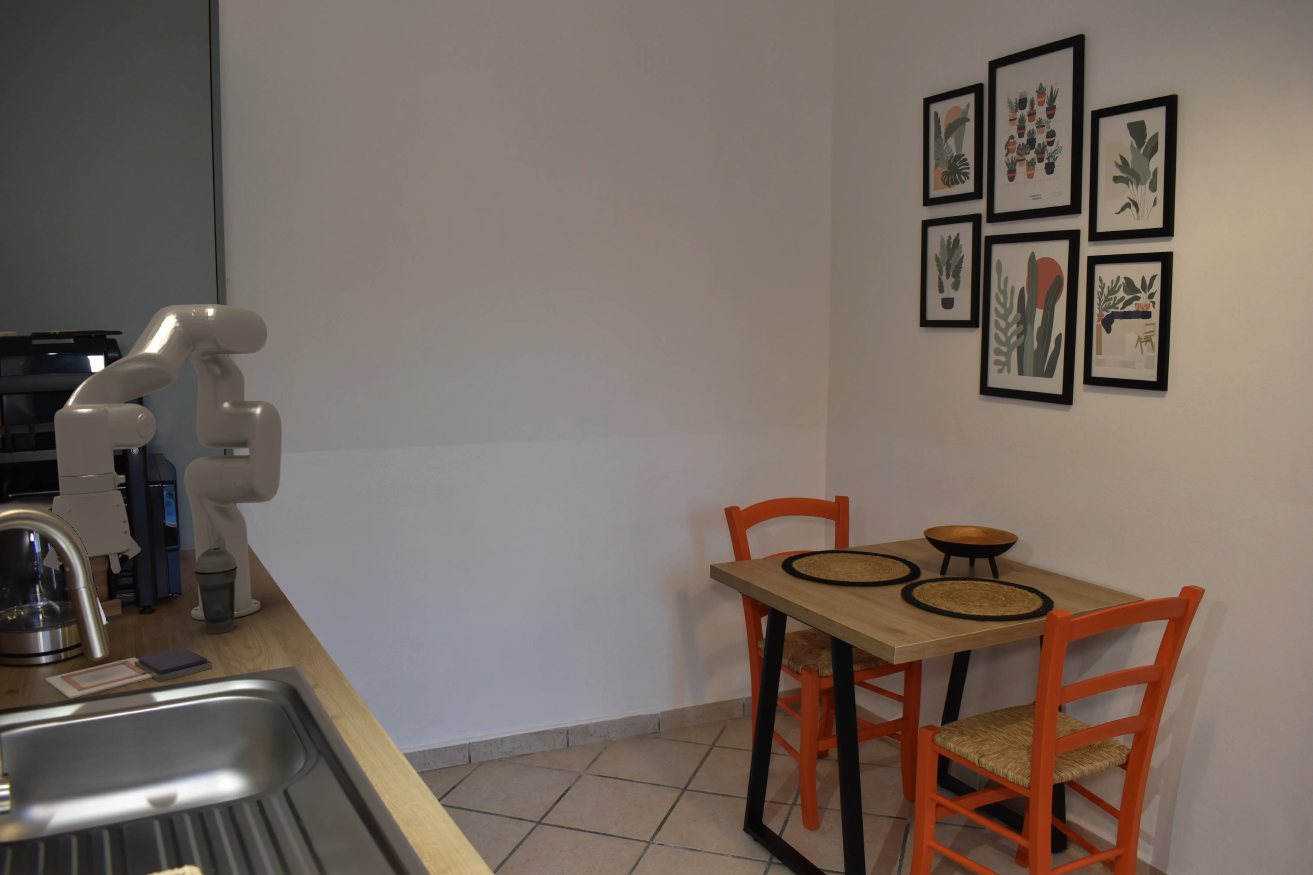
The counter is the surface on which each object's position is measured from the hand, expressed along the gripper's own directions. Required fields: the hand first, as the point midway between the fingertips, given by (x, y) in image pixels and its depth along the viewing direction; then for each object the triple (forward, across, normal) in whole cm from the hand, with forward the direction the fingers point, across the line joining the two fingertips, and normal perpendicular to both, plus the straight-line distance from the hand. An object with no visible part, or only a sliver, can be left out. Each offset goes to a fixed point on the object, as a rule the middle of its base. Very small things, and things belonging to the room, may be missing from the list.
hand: (96, 599), depth 146 cm
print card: (+13, 0, 0) cm, 13 cm away
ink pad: (+13, -9, +4) cm, 16 cm away
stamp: (+3, 0, 0) cm, 3 cm away
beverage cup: (+13, -23, -12) cm, 29 cm away
